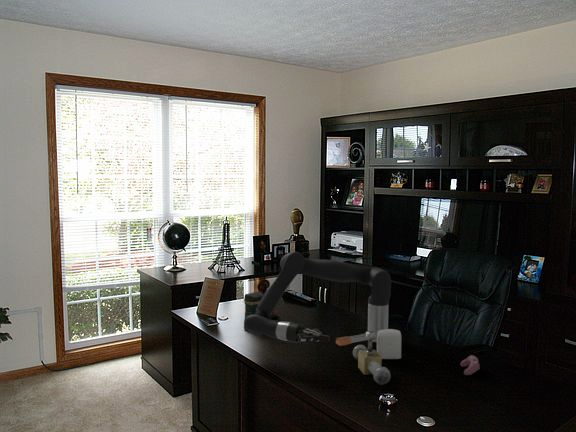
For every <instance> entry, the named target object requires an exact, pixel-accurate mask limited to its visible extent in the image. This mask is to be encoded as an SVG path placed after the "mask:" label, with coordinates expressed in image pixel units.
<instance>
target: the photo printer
mask: <svg viewBox="0 0 576 432" xmlns="http://www.w3.org/2000/svg"><path fill="white" fill-rule="evenodd" d="M401 333H402V332H401V331H400V330H398V329H393V328H388V329H384V330H380V331H378V334H377V342H376V351H377V352H378V353H379V354H380V355H381V356H382V360H399V359H402V334H401Z"/></svg>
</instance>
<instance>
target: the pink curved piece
mask: <svg viewBox="0 0 576 432" xmlns="http://www.w3.org/2000/svg"><path fill="white" fill-rule="evenodd" d="M460 367H462V368H465V367H467V368H465V369H464V370H463V375H465V376H471V375H472V374H474V373H476V372H477V371H478V370H480V363H479V359H478V357H477V356H475V355H473V354H472V355H471V354H470V355H469V356H468V357H467V358H465V359H463V360H462V361H461V362H460Z"/></svg>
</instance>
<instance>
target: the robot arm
mask: <svg viewBox="0 0 576 432" xmlns="http://www.w3.org/2000/svg"><path fill="white" fill-rule="evenodd" d="M279 266H280V268H281V270H280V272H279V274H278V275H277V277H276V278H275V280H274V281H273V283H271V284H270V286H269V288H268V289H267V291H266V292H265V294H264V296H263V297H262V299H261V300H260V302H259V304H258V306H257V309H258V315H249V316H247V317H246V318H245V317H244V319H245V320H243V327H244V326H245V328H246V329H247V330H248V331H247V332H249V333H251V334H252V335H253V336H254V337H259V336H262V335H265V336H267V337H269V338H273V339H279V340H281V341H286V342H290V343H295V344H299V343H300V344H311V343H317V342H325V343H329V342H330V341H331V335H328V334H322V333H323V331H321V330H319V329H318V328H317V327H313V329H310V328H305V327H304V326H303V324H302V323H298V322H297V323H296V322H292V321H283V320H282V321H281V320H276V319H272V320H271V319H270V318H271V314H272V312H273V310H275V308H276V307H277V305H278V304H279V302H280V301H281V299H282V297H283V295H284V294H285V292H286V290H287V289H288V287H289V286H290V285H291V283H293V281H294V279H295V278H296V277H297V275H303V276H305V275H306V276H310V277H314V278H318V279H323V280H327V281H331V282H335V283H336V282H338V283H351V282H354V283H355V282H356V283H361V284H364V285H367V286H370V287H371V295H370V296H369V297H368V300H367V301H368V302H367V304H368V306H367V331H373V332H375V339H374V340H372V343H377V334H378V331H380V330H384V329H389V302H390V299H391V292H392V291H391V289H392V278H391V275H390V273H389V272H388V271H386V270H383V269H381V268H379V267H368V266H359V265H355V264H352V263H349V262H345V261H340V260H335V259H310V258H306V257H304V255H303V254H302V253H300V252H298V251H291V252H288V253H286V254H285V255H283V256H282V257H281V259H280V262H279Z"/></svg>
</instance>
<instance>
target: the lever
mask: <svg viewBox="0 0 576 432" xmlns="http://www.w3.org/2000/svg"><path fill="white" fill-rule="evenodd" d="M374 339H375V332H373V331H368V330H367V331H365V333H360V334H357V335H350V336H347V335H345V336H341V337H335V344H336V345H338V346H340V347H341V346H348V345H352V344H353V343H359V342H363V341H368V340H374Z"/></svg>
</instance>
